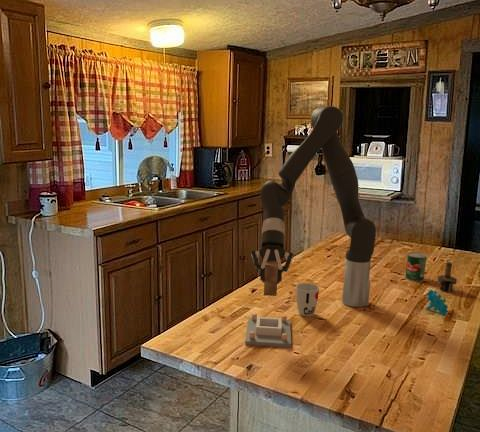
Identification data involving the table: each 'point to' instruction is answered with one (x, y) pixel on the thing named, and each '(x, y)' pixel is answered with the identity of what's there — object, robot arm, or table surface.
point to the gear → (437, 302)
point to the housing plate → (268, 331)
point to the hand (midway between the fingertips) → (270, 281)
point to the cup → (306, 298)
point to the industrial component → (447, 279)
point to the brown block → (271, 278)
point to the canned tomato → (415, 266)
